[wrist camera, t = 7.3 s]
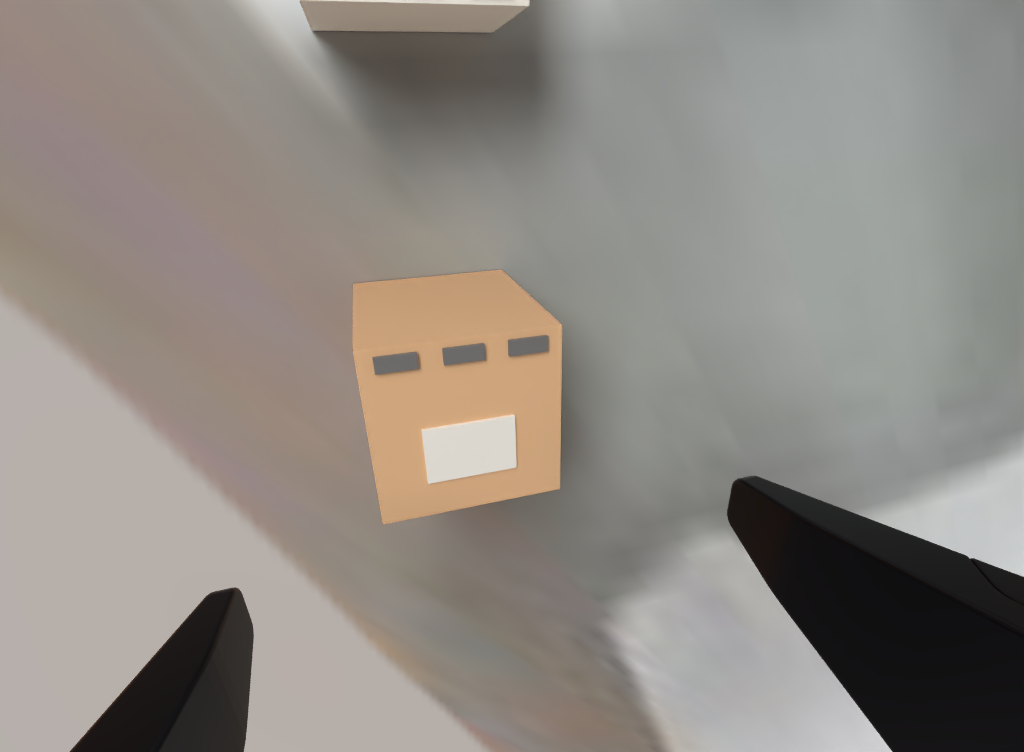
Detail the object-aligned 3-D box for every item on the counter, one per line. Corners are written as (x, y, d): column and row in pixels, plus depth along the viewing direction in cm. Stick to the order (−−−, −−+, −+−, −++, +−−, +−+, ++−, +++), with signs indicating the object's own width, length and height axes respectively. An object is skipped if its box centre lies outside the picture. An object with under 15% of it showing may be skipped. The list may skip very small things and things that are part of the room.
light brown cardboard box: (501, 269, 18) (563, 326, 13) (506, 396, 20) (561, 491, 15) (352, 283, 17) (352, 353, 12) (375, 417, 19) (383, 527, 14)
